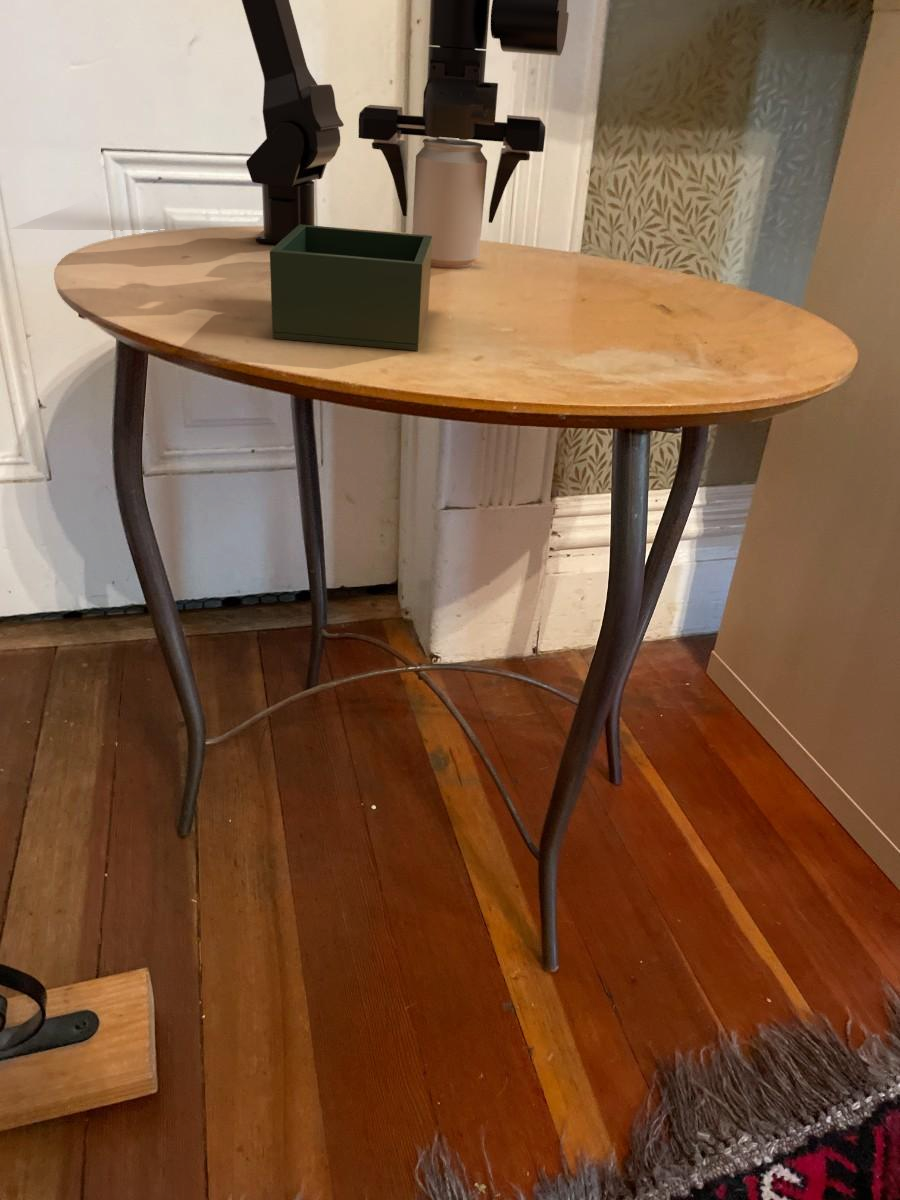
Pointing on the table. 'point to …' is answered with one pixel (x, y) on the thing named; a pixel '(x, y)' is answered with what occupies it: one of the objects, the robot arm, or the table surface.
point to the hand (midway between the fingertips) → (447, 219)
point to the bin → (351, 287)
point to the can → (450, 199)
